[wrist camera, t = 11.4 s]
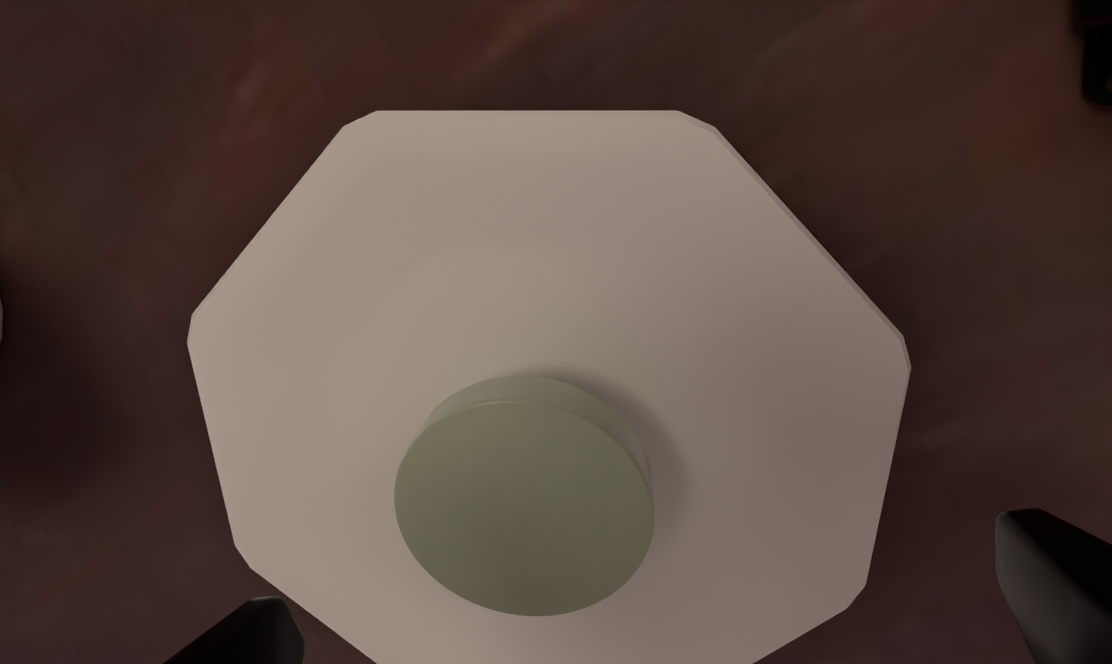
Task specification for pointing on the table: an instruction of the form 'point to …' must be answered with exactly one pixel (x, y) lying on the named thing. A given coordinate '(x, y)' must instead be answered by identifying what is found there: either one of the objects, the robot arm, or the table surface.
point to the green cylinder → (526, 496)
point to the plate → (552, 377)
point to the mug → (1, 320)
